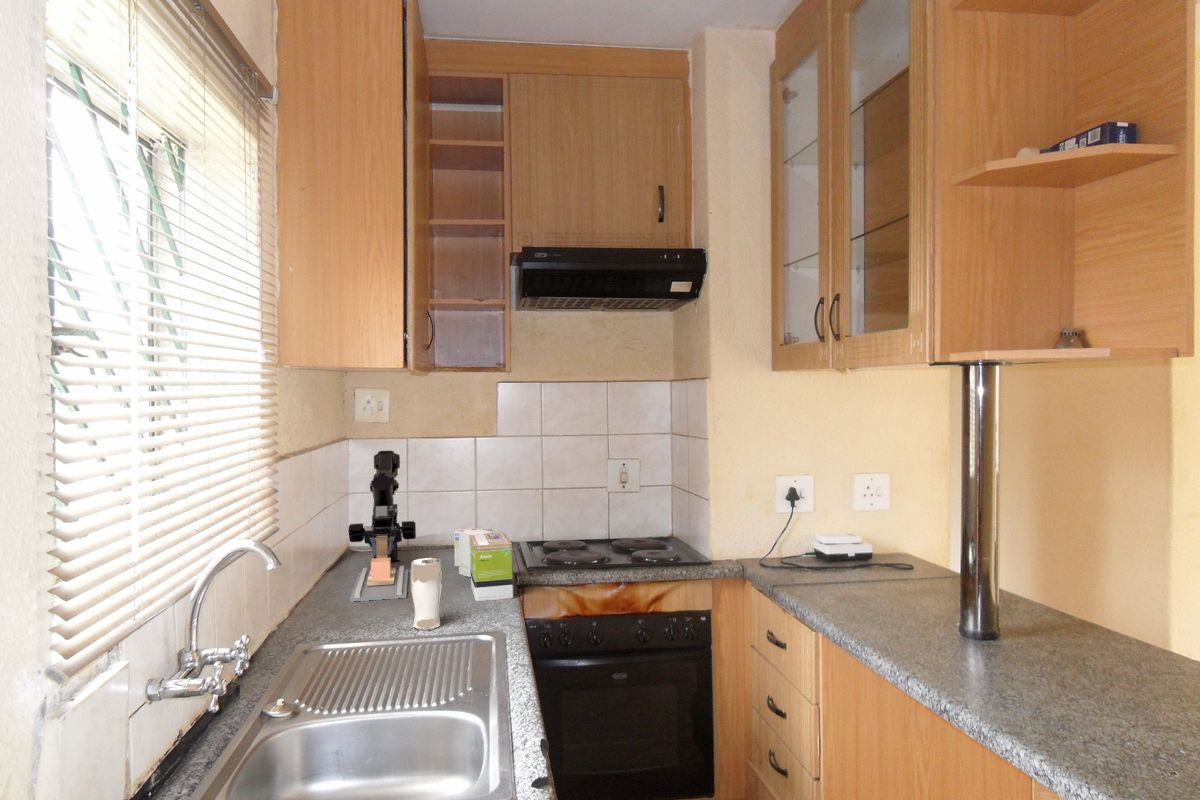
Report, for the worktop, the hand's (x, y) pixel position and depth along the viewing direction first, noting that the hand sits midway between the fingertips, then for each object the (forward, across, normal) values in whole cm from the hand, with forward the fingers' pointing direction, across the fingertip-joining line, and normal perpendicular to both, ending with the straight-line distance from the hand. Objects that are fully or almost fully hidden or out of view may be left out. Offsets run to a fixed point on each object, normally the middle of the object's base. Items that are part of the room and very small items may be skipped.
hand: (382, 555), depth 221 cm
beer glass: (+39, +12, -29) cm, 50 cm away
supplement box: (+4, +26, +6) cm, 27 cm away
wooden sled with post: (+6, 0, +2) cm, 6 cm away
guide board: (+10, 0, 0) cm, 10 cm away
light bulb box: (-5, +27, +16) cm, 31 cm away
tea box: (+21, +29, -10) cm, 37 cm away
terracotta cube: (+8, 0, -1) cm, 8 cm away
